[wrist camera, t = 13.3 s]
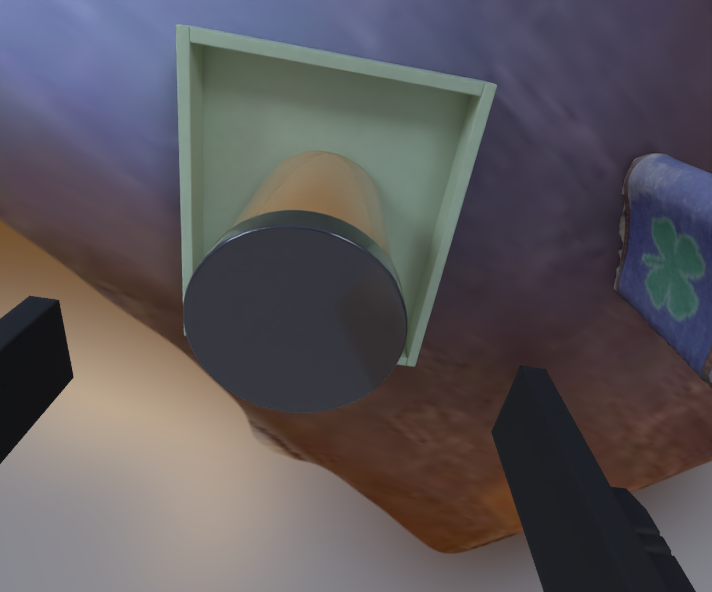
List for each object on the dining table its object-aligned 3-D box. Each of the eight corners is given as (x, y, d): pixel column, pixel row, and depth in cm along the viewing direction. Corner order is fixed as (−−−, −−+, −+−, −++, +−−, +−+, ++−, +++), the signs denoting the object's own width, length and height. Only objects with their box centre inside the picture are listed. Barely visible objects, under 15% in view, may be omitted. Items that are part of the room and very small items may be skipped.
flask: (623, 155, 24) (793, 229, 15) (680, 144, 24) (891, 212, 14) (609, 301, 29) (732, 428, 19) (657, 293, 28) (806, 419, 19)
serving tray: (484, 80, 22) (498, 84, 20) (411, 343, 30) (415, 367, 28) (193, 25, 21) (174, 23, 19) (196, 314, 29) (183, 336, 27)
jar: (400, 159, 24) (432, 246, 14) (374, 285, 27) (383, 425, 17) (256, 134, 23) (178, 206, 13) (248, 266, 27) (184, 400, 17)
